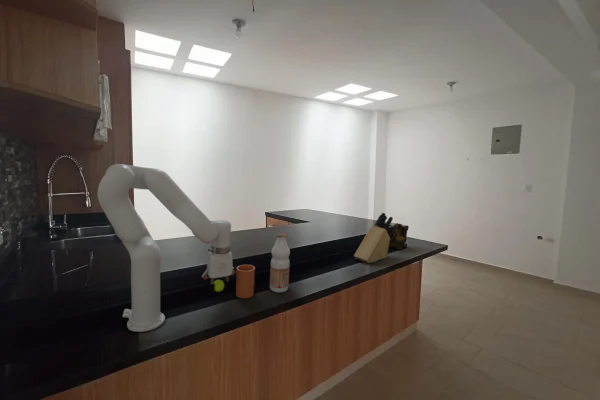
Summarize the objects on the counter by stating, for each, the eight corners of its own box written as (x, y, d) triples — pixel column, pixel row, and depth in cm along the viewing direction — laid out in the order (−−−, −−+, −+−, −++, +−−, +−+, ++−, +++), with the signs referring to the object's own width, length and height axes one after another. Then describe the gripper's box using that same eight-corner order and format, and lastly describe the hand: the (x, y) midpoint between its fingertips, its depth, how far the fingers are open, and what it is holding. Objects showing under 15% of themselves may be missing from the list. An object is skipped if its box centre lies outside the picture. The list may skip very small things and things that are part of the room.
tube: (233, 297, 134) (234, 270, 132) (238, 289, 142) (239, 264, 141) (251, 299, 134) (252, 271, 132) (255, 291, 142) (256, 265, 140)
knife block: (394, 255, 212) (399, 213, 208) (367, 265, 188) (371, 218, 184) (380, 251, 220) (384, 211, 216) (352, 260, 196) (356, 215, 192)
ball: (210, 293, 123) (210, 281, 122) (214, 288, 128) (215, 277, 127) (221, 294, 123) (222, 283, 122) (225, 289, 128) (226, 278, 127)
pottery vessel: (393, 251, 221) (396, 226, 218) (380, 248, 228) (383, 223, 226) (409, 246, 237) (412, 223, 235) (397, 243, 245) (399, 220, 243)
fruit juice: (268, 292, 141) (271, 236, 138) (270, 284, 151) (273, 231, 147) (287, 293, 141) (290, 237, 138) (288, 285, 151) (291, 232, 147)
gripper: (203, 254, 115) (201, 298, 117) (242, 250, 125) (240, 290, 127) (197, 249, 121) (195, 291, 123) (235, 245, 131) (233, 284, 133)
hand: (218, 290), depth 125 cm, fingers closed on ball, 4 cm apart
